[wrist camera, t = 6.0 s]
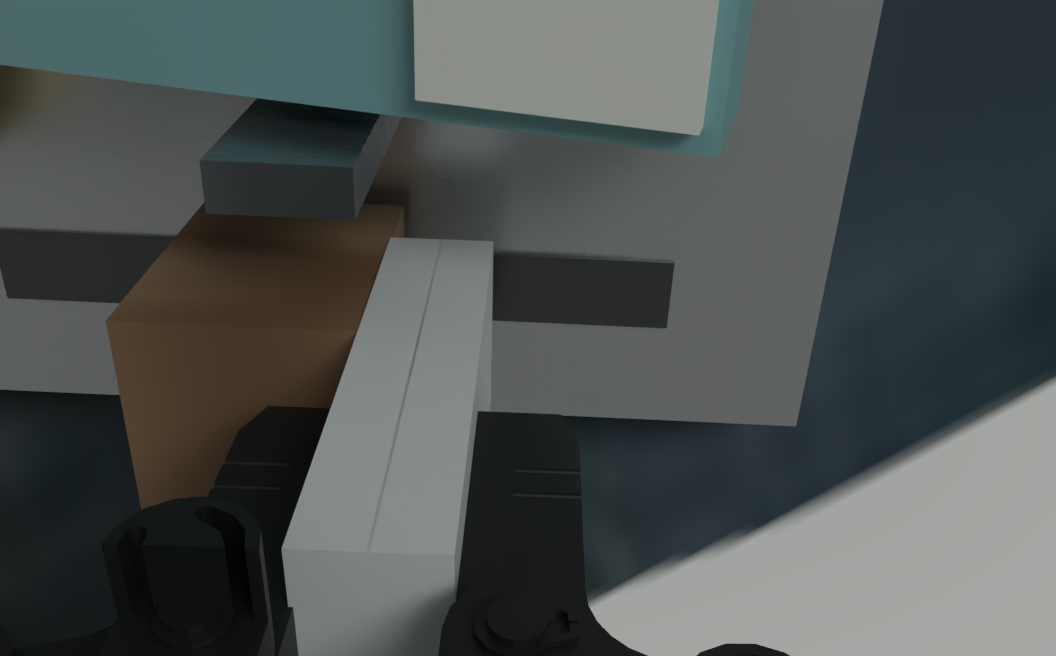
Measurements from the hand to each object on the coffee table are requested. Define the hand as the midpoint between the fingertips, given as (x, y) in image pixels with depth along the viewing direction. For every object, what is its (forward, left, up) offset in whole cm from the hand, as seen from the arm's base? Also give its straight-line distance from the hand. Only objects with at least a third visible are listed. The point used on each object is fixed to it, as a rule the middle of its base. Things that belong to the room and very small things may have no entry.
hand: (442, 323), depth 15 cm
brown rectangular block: (-2, 0, -1) cm, 3 cm away
